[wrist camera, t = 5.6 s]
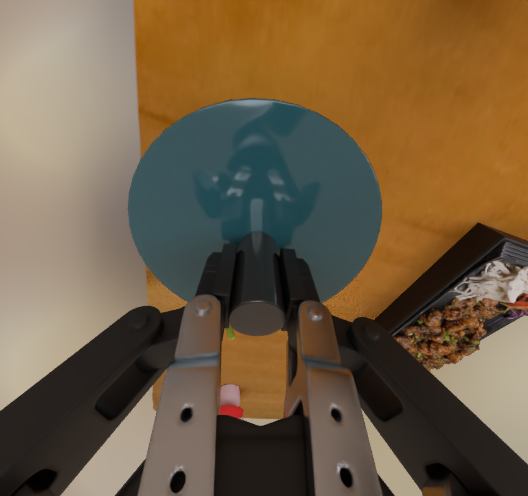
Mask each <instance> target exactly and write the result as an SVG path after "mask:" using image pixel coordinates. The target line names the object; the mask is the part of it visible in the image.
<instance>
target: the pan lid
mask: <svg viewBox="0 0 528 496" xmlns="http://www.w3.org/2000/svg"><path fill="white" fill-rule="evenodd" d="M128 216H129V225H130V229H131V233H132V237H133V240H134V242H135V245H136V247H137V250H138V252H139V254H140V256H141V257H142V259H143V261H144V262H145V264H146V265H147V267H148V268H149V269H150V271H151V272H152V273H153V275H154V276H155V277H156V278H157V279H158V280H159V281H160V282H161V283H162V284H163V285H164V286H166V287H167V288H168V289H169V290H170V291H172V292H173V293H175V294H176V295H177V296H179V297H180V298H182V299H184V300H185V301H187V302H188V301H189V300H191V299H192V298H194V296H195V294H196V291H197V288H198V285H199V282H200V279H201V276H202V273H203V270H204V267H205V264H206V261H207V258H208V257H209V256H210V255H211V254H212V253H213V252H221V253H222V250H223V246H224V244H237V245H238V249H237V259H236V266H235V273H234V280H233V288H232V295H231V302H230V309H229V312H228V321H229V324H230V326H231V327H232V328H233V329H234V330H236V331H237V332H239V333H242V334H245V335H250V336H264V335H269V334H272V333H274V332H276V331H278V330H280V329H281V328H282V327H283V326H284V325H285V323H286V320H287V314H286V306H285V299H284V292H283V285H282V277H281V270H280V263H279V254H280V249H281V248H287V249H295V253H296V256H297V258H301V259H304V260H305V262H306V263H307V264H308V265H309V268H310V271H311V274H312V277H313V280H314V284H315V287H316V290H317V293H318V296H319V299H320V302H321V303H323V302H325V301H327V300H328V299H330V298H331V297H333V296H334V295H336V294H337V293H339V292H340V291H341V290H342V289H343V288H345V287H346V286H347V285H348V284H349V283H350V282H351V281H352V280H353V279H354V278H355V277H356V276H357V275H358V273H359V272H360V271H361V270H362V268H363V267H364V266H365V264H366V262H367V261H368V259H369V258H370V256H371V254H372V251H373V249H374V247H375V245H376V242H377V239H378V235H379V232H380V226H381V220H382V200H381V194H380V188H379V184H378V181H377V178H376V175H375V172H374V169H373V168H372V166H371V164H370V162H369V160H368V158H367V157H366V155H365V153H364V152H363V151H362V149H361V148H360V147H359V146H358V144H357V143H356V142H355V141H354V139H353V138H352V137H350V136H349V135H348V134H347V133H346V132H345V131H344V130H343V129H341V128H340V127H339V126H338V125H337V124H335V123H333V122H332V121H330V120H329V119H327V118H325V117H324V116H322V115H321V114H319V113H317V112H314V111H312V110H309V109H307V108H304V107H302V106H300V105H297V104H292V103H288V102H284V101H279V100H275V99H258V98H247V99H237V100H227V101H224V102H220V103H216V104H213V105H209V106H205V107H203V108H201V109H199V110H196V111H194V112H192V113H190V114H188V115H186V116H184V117H182V118H181V119H179V120H178V121H177V122H175V123H174V124H172V125H171V126H170V127H168V128H167V129H165V130H164V131H163V132H162V134H161V135H160V136H159V137H158V138H157V139H156V140H155V141H154V142H153V143H152V144H151V145H150V147H149V148H148V149H147V151H146V152H145V154H144V155H143V157H142V158H141V160H140V162H139V164H138V166H137V169H136V171H135V173H134V175H133V179H132V183H131V187H130V191H129V200H128Z"/></svg>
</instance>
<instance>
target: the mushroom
mask: <svg viewBox="0 0 528 496" xmlns="http://www.w3.org/2000/svg"><path fill="white" fill-rule="evenodd" d="M239 403H240V393H239V387H238V386H237V385H233V384H227V385H223V386H222V387H221V389H220V415H230V416H232V417H235V418H238V419H241V420H243V418H242V415H243V411H244V410H243V409H242V408H240V407H239Z"/></svg>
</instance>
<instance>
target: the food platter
mask: <svg viewBox="0 0 528 496" xmlns="http://www.w3.org/2000/svg"><path fill="white" fill-rule="evenodd" d="M523 315H526V316H528V241H526V240H524V239H521V238H518V237H516V236H513V235H510V234H508V233H505V232H502V231H499V230H497V229H494V228H491V227H489V226H486V225H483V224H481V223H478V224H476V225H475V226H474V227H473V228H472V229H471V230H470V231H469V232H468V233H467V234H466V235H465V236H464V237H463V238H461V239H460V240H459V241H458V242H457V243H456V244H455V245H454V246H453V247H452V248H451V249H450V250H449V251H448V252H447V253H445V254H444V255H443V256H442V257H441V258H440V259H439V260H438V261H437V262H436V263H435V264H434V265H433V266H432V267H431V268H429V269H428V270H427V271H426V272H425V273H424V274H423V275H422V276H421V277H420V278H419V279H418V280H417V281H416V282H414V283H413V284H412V285H411V286H410V287H409V288H408V289H407V290H406V291H405V292H404V293H403V294H402V295H401V296H400V297H398V298H397V299H396V300H395V301H394V302H393V303H392V304H391V305H390V306H389V307H388V308H387V309H386V310H385V311H383V312H382V313H381V314H380V315H379V316H378V317H377V318H376V319H375V320H374V321H375V322H377V323H378V324H379V325H381V326H382V327H383V328H384V329H385V330H386V331H387V332H388V333H389V334H390V335H391V336H392V337H393V338H394V339H396V340H397V341H398V342H399V343H400V344H401V345H402V346H403V347H404V348H405V349H406V350H407V351H408V352H409V353H410V354H411V355H412V356H413V357H415V358H416V359H417V360H418V361H419V362H420V363H421V364H422V365H423V366H424V367H425V368H426V369H427V370H428V371H429V372H430V369H434V368H436V369H440V368H441V367H443V365H444V364H450V363H453V364H456V363H457V362H458V361H459V360H462V358H463V356H462V355H465V356H468V355H470V354H472V353H473V352H474V351H476V350H479V344H480V340H482V339H484V338H485V337H487V336H489V335H490V334H492V333H494V332H496V331H498V330H499V329H501V328H503V327H504V326H506V325H508V324H510V323H511V322H513V321H515V320H517V319H518V318H520V317H522V316H523Z"/></svg>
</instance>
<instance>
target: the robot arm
mask: <svg viewBox="0 0 528 496" xmlns="http://www.w3.org/2000/svg"><path fill="white" fill-rule="evenodd" d="M237 249H238V245H237V244H224V246H223V250H222V253H221V252H213V253H212V254H211V255H210V256H209V257H208V258H207V261H206V264H205V267H204V270H203V273H202V276H201V279H200V282H199V285H198V288H197V291H196V294H195V296H194V298H192V299H191V300H189V301H188V303H187V304H186V306H184V307H182V308H180V309H176V310H172V311H168V312H163V313H160V311H159V310H158V309H157V308H155V307H152V306H142V307H138V308H135V309H133V310H131V311H129V312H128V313H126V314H125V315H124V316H122V317H121V318H120V319H118V320H117V321H116V322H115V323H113V324H112V325H111V326H109V328H107V329H106V330H104V331H103V332H102V333H100V334H99V335H98V336H97V337H95V338H94V339H93V340H91V341H90V342H89V343H88V344H86V345H85V346H84V347H83V348H81V349H80V350H79V351H78V352H76V353H75V354H74V355H72V356H71V357H70V358H68V359H67V360H66V361H64V362H63V363H62V364H61V365H59V366H58V367H57V368H55V369H54V370H53V371H52V372H50V373H49V374H48V375H46V376H45V377H44V378H42V379H41V380H40V381H39V382H37V383H36V384H35V385H33V386H32V387H31V388H30V389H28V390H27V391H26V392H24V393H23V394H22V395H21V396H19V397H18V398H17V399H15V400H14V401H13V402H11V403H10V404H9V405H8V406H6V407H5V408H4V409H3V410H1V411H0V496H60V495H61V494H62V493H63V492H64V490H65V489H66V488H67V487H68V485H69V484H70V483H71V482H72V481H73V480H74V478H75V477H76V476H77V475H78V474H79V472H80V471H81V470H82V469H83V468H84V466H85V465H86V464H87V463H88V462H89V460H90V459H91V458H92V457H93V456H94V454H95V453H96V452H97V451H98V450H99V449H100V447H101V446H102V445H103V444H104V443H105V441H106V440H107V439H108V438H109V437H110V435H111V434H112V433H113V432H114V431H115V429H116V428H117V427H118V426H119V425H120V423H121V422H122V421H123V420H124V419H125V417H126V416H127V415H128V414H129V413H130V412H131V410H132V409H133V408H134V407H135V406H136V404H137V403H138V402H139V401H140V399H141V398H142V397H143V396H144V395H145V394H146V392H147V391H148V390H149V389H150V387H151V386H152V385H153V384H154V383H155V382H156V380H157V379H158V378H159V377H160V376H161V375H162V373H163V372H164V371H165V370H166V369H167V370H166V373H165V377H164V382H163V386H162V390H161V395H160V399H159V404H158V408H157V412H156V417H155V421H154V426H153V430H152V434H151V439H150V443H149V448H148V452H147V456H146V459H145V460H144V461H143V462H142V464H141V465H140V466H139V467H138V468H137V470H136V471H135V472H134V473H133V475H132V476H131V477H130V478H129V479H128V481H127V482H126V483H125V484H124V485H123V487H122V488H121V489H120V490H119V491H118V493H117V494H116V495H115V496H394V494H393V493H392V492H391V490H390V489H389V488H388V486H387V485H386V484H385V483H384V481H383V480H382V479H381V478H380V476H379V475H378V474H377V471H376V467H375V463H374V459H373V455H372V450H371V447H370V443H369V438H368V434H367V430H366V426H365V422H364V418H363V414H362V410H363V411H364V413H365V414H366V415H367V417H368V418H369V419H370V421H371V422H372V423H373V425H374V426H375V428H376V429H377V430H378V432H379V433H380V435H381V436H382V437H383V439H384V440H385V442H386V443H387V444H388V446H389V447H390V448H391V450H392V451H393V453H394V454H395V455H396V457H397V458H398V459H399V461H400V462H401V464H402V465H403V466H404V468H405V469H406V471H407V472H408V473H409V475H410V476H411V477H412V479H413V480H414V482H415V483H416V484H417V486H418V487H419V489H420V490H421V491H422V495H423V496H528V464H527V463H526V462H524V460H522V459H521V458H520V457H519V456H518V455H517V454H516V453H515V452H514V451H513V450H512V449H511V448H510V447H509V446H508V445H507V444H506V443H504V442H503V441H502V440H501V439H500V438H499V437H498V436H497V435H496V434H495V433H494V432H493V431H492V430H491V429H490V428H488V426H486V425H485V424H484V423H483V422H482V421H481V420H480V419H479V418H478V417H477V416H476V415H475V414H474V413H473V412H472V411H471V410H470V409H468V408H467V407H466V406H465V405H464V404H463V403H462V402H461V401H460V400H459V399H458V398H457V397H456V396H455V395H454V394H453V393H451V391H449V390H448V389H447V388H446V387H445V386H444V385H443V384H442V383H441V382H440V381H439V380H438V379H437V378H436V377H434V375H432V374H431V373H430V372H429V371H428V370H427V369H426V368H425V367H424V366H423V365H422V364H421V363H420V362H419V361H418V360H417V359H416V358H415V357H413V356H412V355H411V354H410V353H409V352H408V351H407V350H406V349H405V348H404V347H403V346H402V345H401V344H400V343H399V342H398V341H397V340H396V339H394V338H393V337H392V336H391V335H390V334H389V333H388V332H387V331H386V330H385V329H384V328H383V327H382V326H381V325H379V324H378V323H377V322H375V321H374V320H372V319H369V318H366V317H358V318H356V319H355V320H354V321H353V323H352V322H349V321H346V320H343V319H340V318H338V317H335V316H333V315H331V313H330V311H329V310H328V308H327V307H326V306H324V305H323V304H322V303H321V302H320V299H319V296H318V293H317V290H316V287H315V284H314V280H313V277H312V274H311V271H310V268H309V265H308V264H307V263H306V262H305V260H304V259H301V258H297V256H296V253H295V249H287V248H281V249H280V254H279V263H280V270H281V277H282V285H283V292H284V299H285V306H286V314H287V320H286V323H285V325H284V326H283V327H282V328H281V331H288V341H287V345H286V395H285V401H284V418H283V419H280V420H277V421H275V422H272V423H269V424H266V425H263V426H258V425H255V424H252V423H249V422H247V421H244V420H241V419H238V418H235V417H232V416H230V415H220V389H221V346H222V340H223V334H224V328H229V326H230V324H229V321H228V312H229V309H230V302H231V295H232V288H233V280H234V273H235V266H236V259H237ZM361 408H362V410H361ZM332 417H333V418H332Z"/></svg>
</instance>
